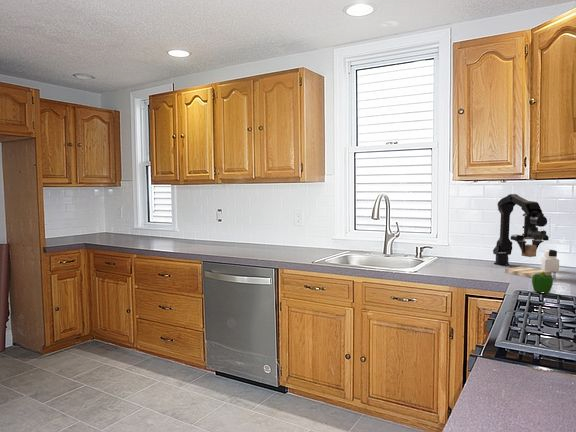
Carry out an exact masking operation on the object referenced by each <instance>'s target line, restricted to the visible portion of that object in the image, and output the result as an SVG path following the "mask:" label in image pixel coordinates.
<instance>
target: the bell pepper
mask: <svg viewBox="0 0 576 432" xmlns="http://www.w3.org/2000/svg"><path fill="white" fill-rule="evenodd" d="M531 283H532V284H531V285H532V288H533V291H534V292H535V291H538V292H537V293H539V292H544V293H547V294H549V293H550V292H551V290H552V288H553V284H554V278H553V276H552V275H550V276H547V275H545V272H542V274H541V275H539V274H535V275H533V277H532V278H531ZM544 293H543V294H544Z"/></svg>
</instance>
